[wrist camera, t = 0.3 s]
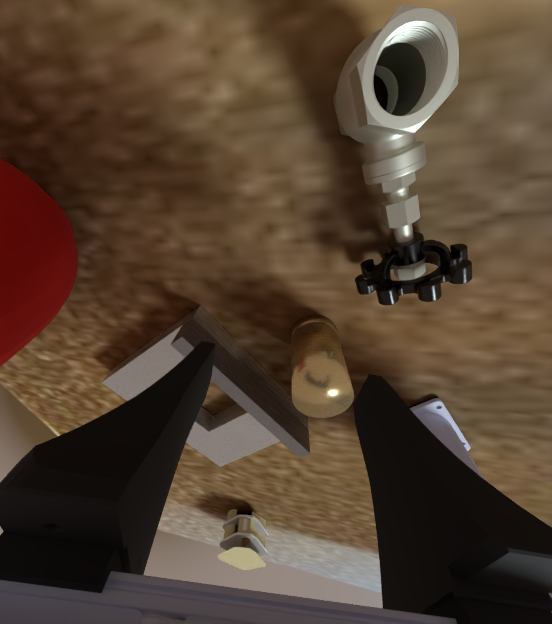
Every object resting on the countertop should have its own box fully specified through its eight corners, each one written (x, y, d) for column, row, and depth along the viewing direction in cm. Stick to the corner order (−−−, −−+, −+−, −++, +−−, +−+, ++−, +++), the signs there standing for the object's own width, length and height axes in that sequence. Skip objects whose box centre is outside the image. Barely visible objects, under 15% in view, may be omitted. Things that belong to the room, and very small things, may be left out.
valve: (297, 86, 15) (348, 274, 21) (303, 46, 9) (371, 319, 15) (420, 25, 14) (440, 244, 19) (514, -66, 8) (503, 281, 14)
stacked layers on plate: (290, 519, 41) (290, 566, 37) (244, 531, 44) (238, 576, 40) (251, 488, 37) (246, 537, 33) (203, 504, 40) (192, 551, 36)
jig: (307, 412, 29) (310, 453, 25) (223, 450, 32) (215, 490, 29) (200, 305, 22) (181, 336, 18) (113, 367, 26) (83, 404, 22)
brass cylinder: (345, 339, 24) (365, 403, 18) (307, 360, 25) (313, 425, 19) (321, 306, 22) (333, 364, 16) (281, 330, 23) (279, 391, 17)
